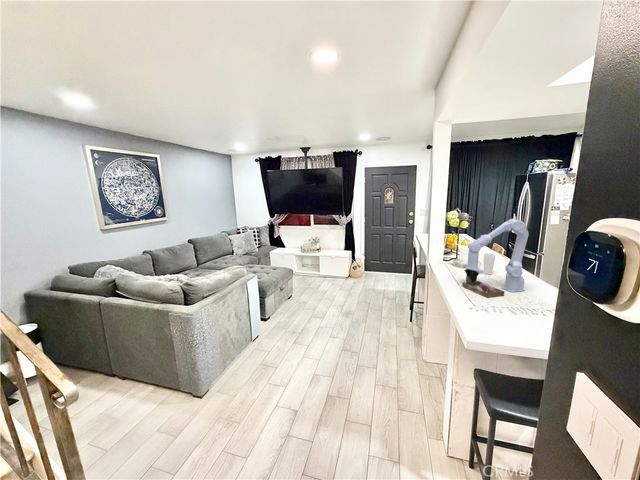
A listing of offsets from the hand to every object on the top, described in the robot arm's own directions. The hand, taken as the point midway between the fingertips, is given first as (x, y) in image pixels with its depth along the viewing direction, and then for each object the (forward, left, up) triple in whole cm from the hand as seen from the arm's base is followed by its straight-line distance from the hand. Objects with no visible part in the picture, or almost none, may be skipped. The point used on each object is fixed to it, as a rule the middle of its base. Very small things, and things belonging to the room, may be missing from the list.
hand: (471, 281), depth 167 cm
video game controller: (-1, +13, -4) cm, 13 cm away
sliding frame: (0, +8, -3) cm, 9 cm away
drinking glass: (-31, -18, -4) cm, 36 cm away
